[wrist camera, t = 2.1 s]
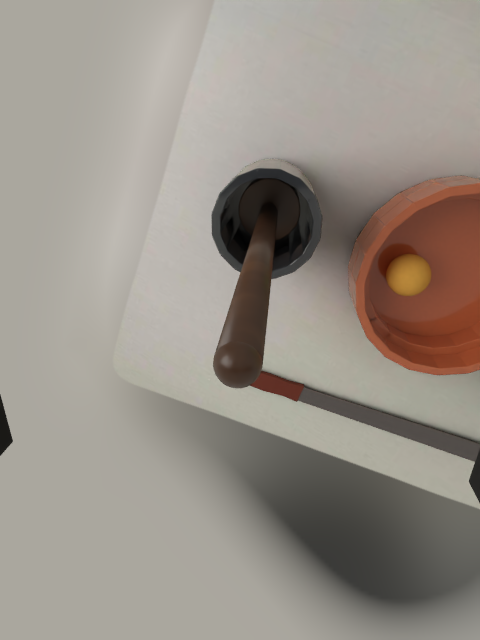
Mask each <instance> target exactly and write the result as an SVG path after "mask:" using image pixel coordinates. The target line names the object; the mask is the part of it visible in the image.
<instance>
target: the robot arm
mask: <svg viewBox="0 0 480 640" xmlns="http://www.w3.org/2000/svg"><path fill="white" fill-rule="evenodd" d="M12 442H13V440H12V436H11V433H10V429H9V425H8V422H7V418H6V414H5V410H4V406H3V403H2V399H1V396H0V455H1V454H2V453H3V452H4V451H5V450H6V449H7V447H8V446H9V445H10V444H11V443H12ZM469 483H470V485H471V487H472V489H473V491H474V493H475V495H476V496H477V498H478V500H479V502H480V449H479V452H478V455H477V458H476V461H475V464H474V467H473V470H472V473H471V476H470V479H469Z"/></svg>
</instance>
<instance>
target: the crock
mask: <svg viewBox="0 0 480 640" xmlns="http://www.w3.org/2000/svg"><path fill="white" fill-rule="evenodd" d="M258 178H270V179H279V180H281V181H283V182H286V183H288V184H290V185H292V186H293V187H294V188H295V190H296V192H297V194H298V197H299V201H300V216H299V220H298V222H297V224H296V226H295V228H294V229H293V230H292V231H291V232H290V233H289V234H288V235H287V236H285V237H283V238H281V239H278V240H275V246H274V256H273V266H272V276H271V279H274V278H278V277H281V276H284V275H287V274H290V273H293V272H295V271H296V270H297V269H298V268H299V267H301V266H302V265H303V264H304V263H305V262H307V261H308V260H309V259H310V258H311V256H312V254H313V252H314V251H315V249H316V247H317V245H318V243H319V241H320V238H321V228H322V214H321V211H320V208H319V204H318V201H317V198H316V195H315V193H314V190H313V188H312V186H311V183H310V181H309V180H308V179H307V177H306V176H305V175H304V173H303V172H302V171H301V170H300V169H299V168H298V167H296V166H295V165H293V164H291V163H289V162H287V161H284V160H280V159H263V160H259V161H256V162H254V163H252V164H250V165H248V166H246V167H245V168H244V169H243V170H242V171H241V172H240V173H239V174H238V175H237V176H236V177H235V178H234V179H233V180H232V181H231V182H230V183H229V184H228V185H227V186H226V187H225V188H224V189H223V190H222V191H221V192H220V194H219V196H218V199H217V201H216V204H215V206H214V209H213V211H212V236H213V239H214V241H215V243H216V246H217V248H218V251H219V253H220V254H221V256H222V257H223V258H224V259H225V260H226V261H227V262H228V263H229V264H230V265H231V266H232V267H233V268H234V269H235V270H237V271H239V272H241V270H242V266H243V263H244V260H245V257H246V254H247V250H248V247H249V244H250V241H251V238H252V235H250V234H249V233H248V232H247V231H246V230H245V228H244V227H243V225H242V223H241V221H240V217H239V203H240V199H241V197H242V195H243V193H244V191H245V190H246V188H247V187H248V186H249V185H250V184H251V183H252V182H253V181H255V180H256V179H258Z"/></svg>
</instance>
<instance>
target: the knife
mask: <svg viewBox="0 0 480 640" xmlns="http://www.w3.org/2000/svg"><path fill="white" fill-rule="evenodd" d="M250 386H253V387H255V388H258V389H260V390H263V391H266V392H270V393H274V394H278V395H282V396H284V397H287V398H289V399H292V400H294V401H301V402H304V403H307V404H310V405H313V406H316V407H319V408H322V409H324V410H327V411H330V412H333V413H336V414H339V415H342V416H345V417H348V418H350V419H353V420H356V421H359V422H362V423H365V424H368V425H371V426H374V427H376V428H379V429H382V430H385V431H388V432H391V433H394V434H397V435H400V436H402V437H405V438H408V439H411V440H414V441H417V442H420V443H423V444H426V445H428V446H431V447H434V448H437V449H440V450H443V451H446V452H449V453H452V454H454V455H457V456H460V457H463V458H466V459H469V460H472V461H476V458H477V455H478V452H479V449H480V443H478V442H474V441H471V440H468V439H465V438H462V437H459V436H456V435H453V434H449V433H446V432H443V431H440V430H437V429H434V428H431V427H427V426H424V425H421V424H418V423H415V422H412V421H409V420H406V419H402V418H399V417H396V416H393V415H390V414H387V413H384V412H381V411H377V410H374V409H371V408H368V407H365V406H362V405H359V404H356V403H352V402H349V401H346V400H343V399H340V398H337V397H334V396H331V395H327V394H324V393H321V392H318V391H315V390H312V389H309V388H306V387H304V384H300V383H296V382H293V381H289V380H286V379H283V378H281V377H278V376H276V375H273V374H271V373H267V372H264V371H261V373H260V375H259V377H258V378H257V380H256V381H255V382H254V383H252V384H251V385H250Z"/></svg>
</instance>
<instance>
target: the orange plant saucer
mask: <svg viewBox="0 0 480 640" xmlns="http://www.w3.org/2000/svg"><path fill="white" fill-rule="evenodd" d="M404 254H415V255H418V256H420V257H422V258H423V259H425V260H426V261H427V263H428V264H429V266H430V269H431V280H430V283H429V285H428V286H427V287H426V289H425V290H423V291H422V292H421V293H419V294H417V295H414V296H402V295H399V294H397V293H395V292H394V291H393V290H392V289H391V288H390V287H389V285H388V283H387V280H386V271H387V268H388V266H389V264H390V263H391V262H392V261H393V260H394V259H395V258H397V257H399V256H401V255H404ZM348 279H349V294H350V296H351V299H352V302H353V304H354V307H355V310H356V312H357V315H358V317H359V320H360V322H361V325H362V327H363V329H364V332H365V334H366V336H367V338H368V339H369V340H370V341H371V342H372V343H373V344H374V346H375V347H376V348H377V349H378V350H379V351H380V352H381V353H382V354H383V355H384V356H385V357H386V358H388V359H390V360H392V361H394V362H396V363H398V364H399V365H401V366H403V367H405V368H407V369H409V370H414V371H419V372H423V373H428V374H433V375H450V374H466V373H471V372H474V371H477V370H480V179H478V178H473V177H468V176H462V175H460V176H453V177H445V178H437V179H430V180H427V181H425V182H423V183H420V184H418V185H416V186H414V187H411V188H409V189H407V190H405V191H402V192H400V193H398V194H397V195H395V196H394V197H393V198H392V199H391V200H389V201H388V202H387V203H386V204H385V205H383V206H382V207H381V208H380V209H379V210H377V211H376V212H375V213H374V214H373V215H372V217H371V218H370V220H369V221H368V223H367V224H366V226H365V227H364V229H363V230H362V231H361V233H360V234H359V236H358V237H357V239H356V241H355V245H354V248H353V251H352V255H351V258H350V261H349V265H348Z"/></svg>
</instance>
